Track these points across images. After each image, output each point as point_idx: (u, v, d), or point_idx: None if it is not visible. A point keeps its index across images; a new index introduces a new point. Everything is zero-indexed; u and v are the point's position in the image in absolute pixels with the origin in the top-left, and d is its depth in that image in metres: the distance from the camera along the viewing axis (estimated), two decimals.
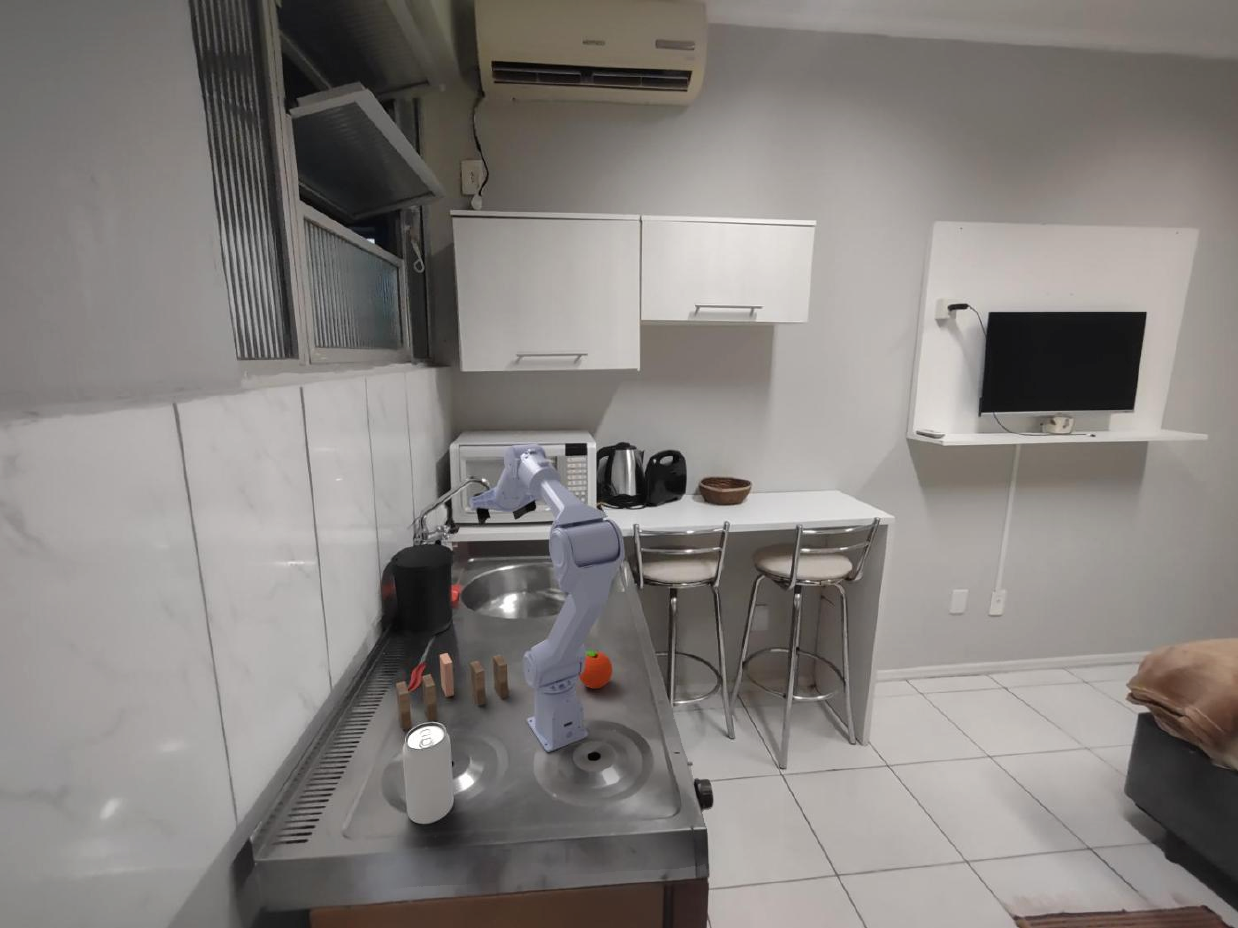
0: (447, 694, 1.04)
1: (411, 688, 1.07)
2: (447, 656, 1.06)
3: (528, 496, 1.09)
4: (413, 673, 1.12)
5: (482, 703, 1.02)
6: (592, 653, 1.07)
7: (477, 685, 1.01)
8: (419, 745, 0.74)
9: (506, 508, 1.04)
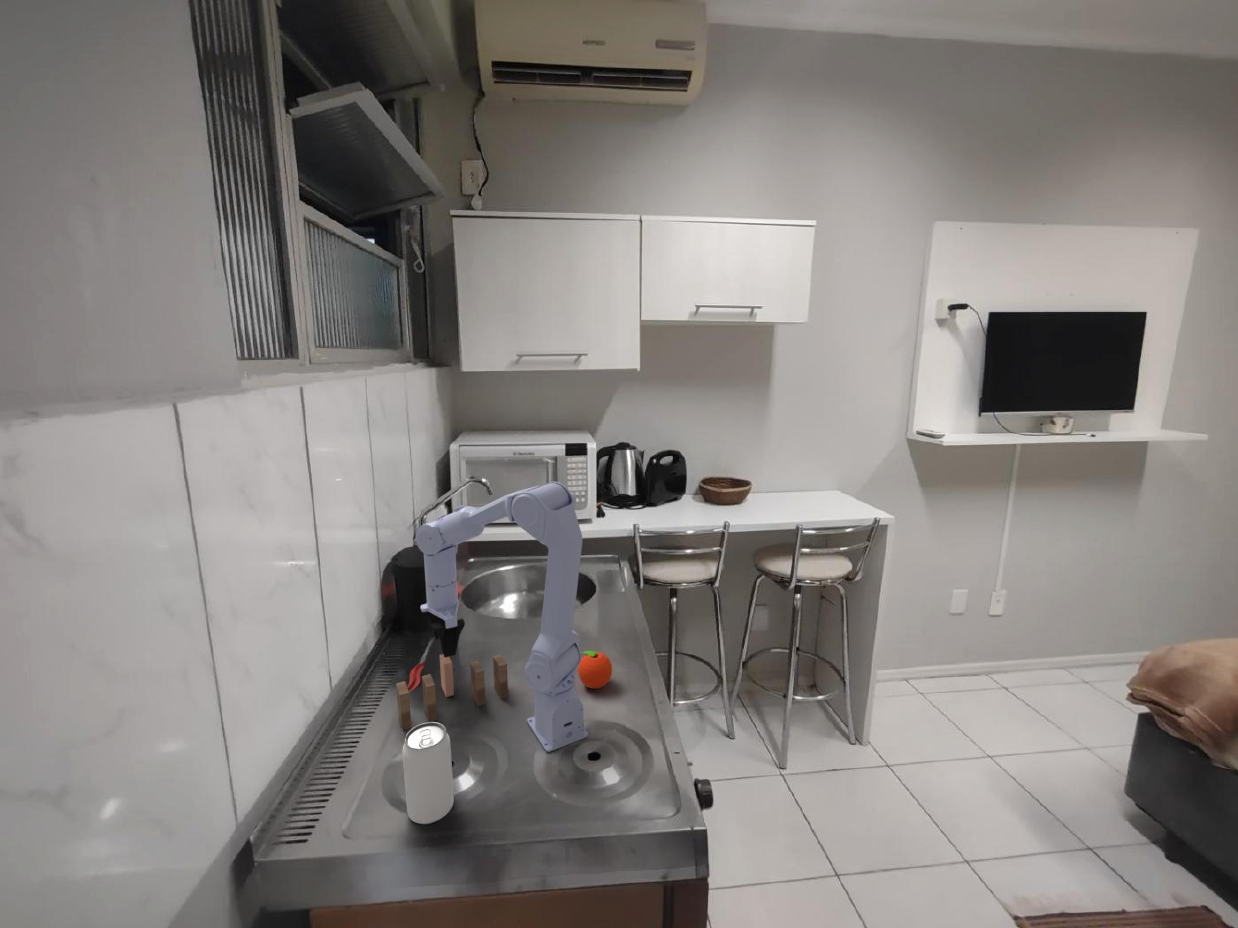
0: (447, 694, 1.04)
1: (410, 688, 1.07)
2: None
3: None
4: (411, 673, 1.12)
5: (482, 703, 1.02)
6: (592, 653, 1.07)
7: (477, 685, 1.01)
8: (419, 745, 0.74)
9: (457, 600, 1.03)
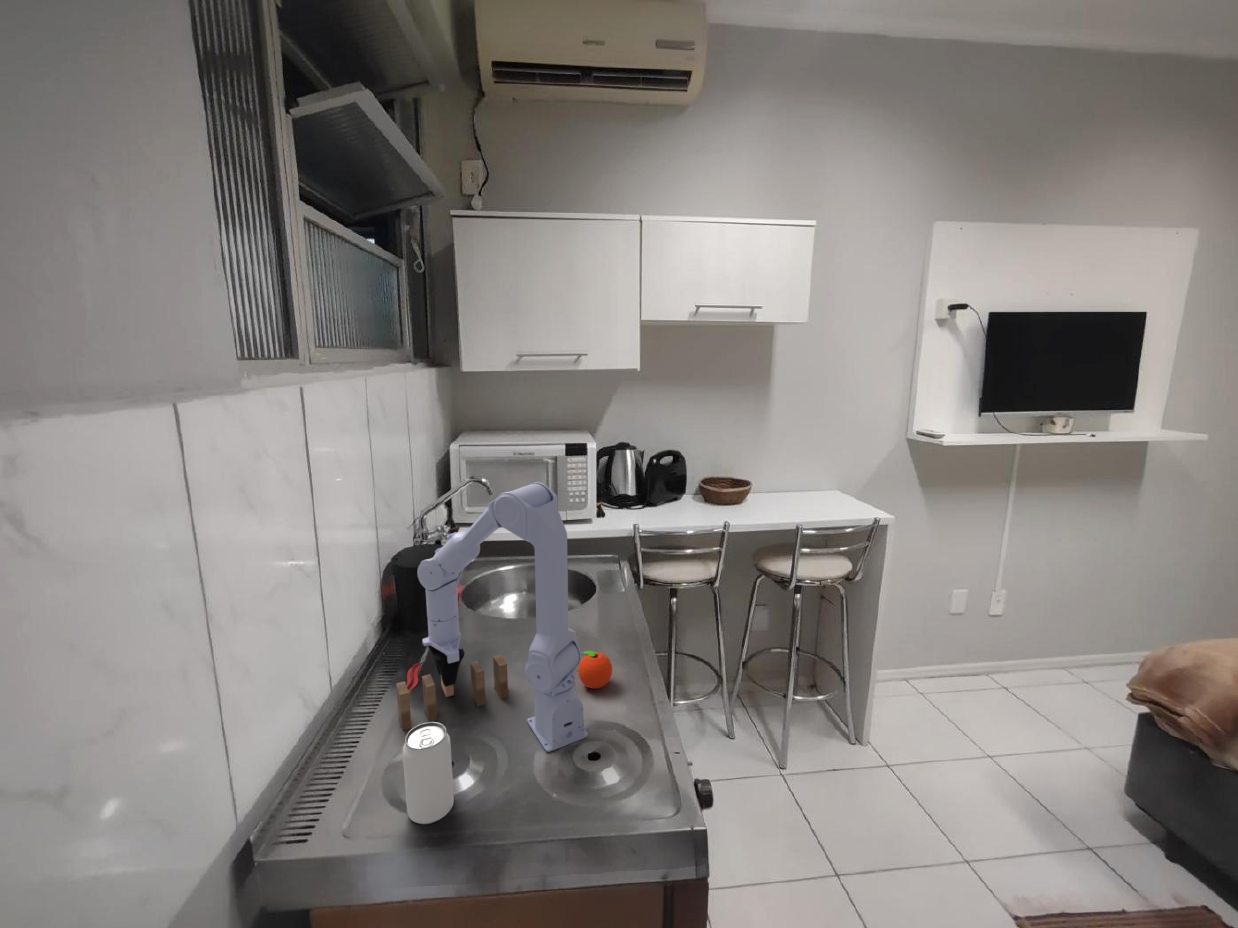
0: (447, 694, 1.04)
1: (409, 688, 1.07)
2: None
3: None
4: (409, 673, 1.12)
5: (482, 703, 1.02)
6: (592, 653, 1.07)
7: (477, 685, 1.01)
8: (419, 745, 0.74)
9: (459, 633, 1.05)
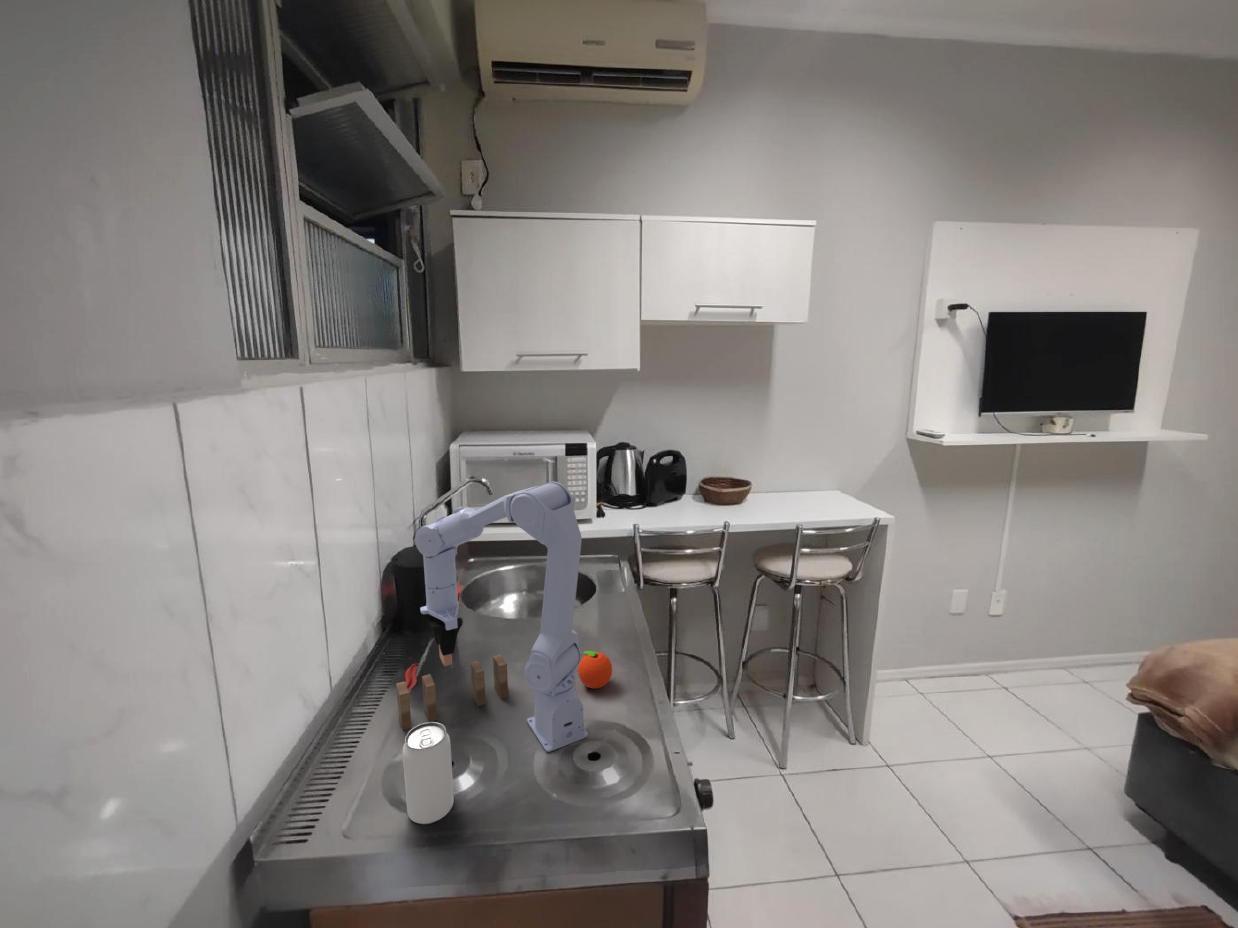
0: (445, 663, 1.03)
1: (407, 688, 1.07)
2: None
3: None
4: (406, 674, 1.12)
5: (482, 703, 1.02)
6: (592, 653, 1.07)
7: (477, 685, 1.01)
8: (419, 745, 0.74)
9: (457, 602, 1.03)
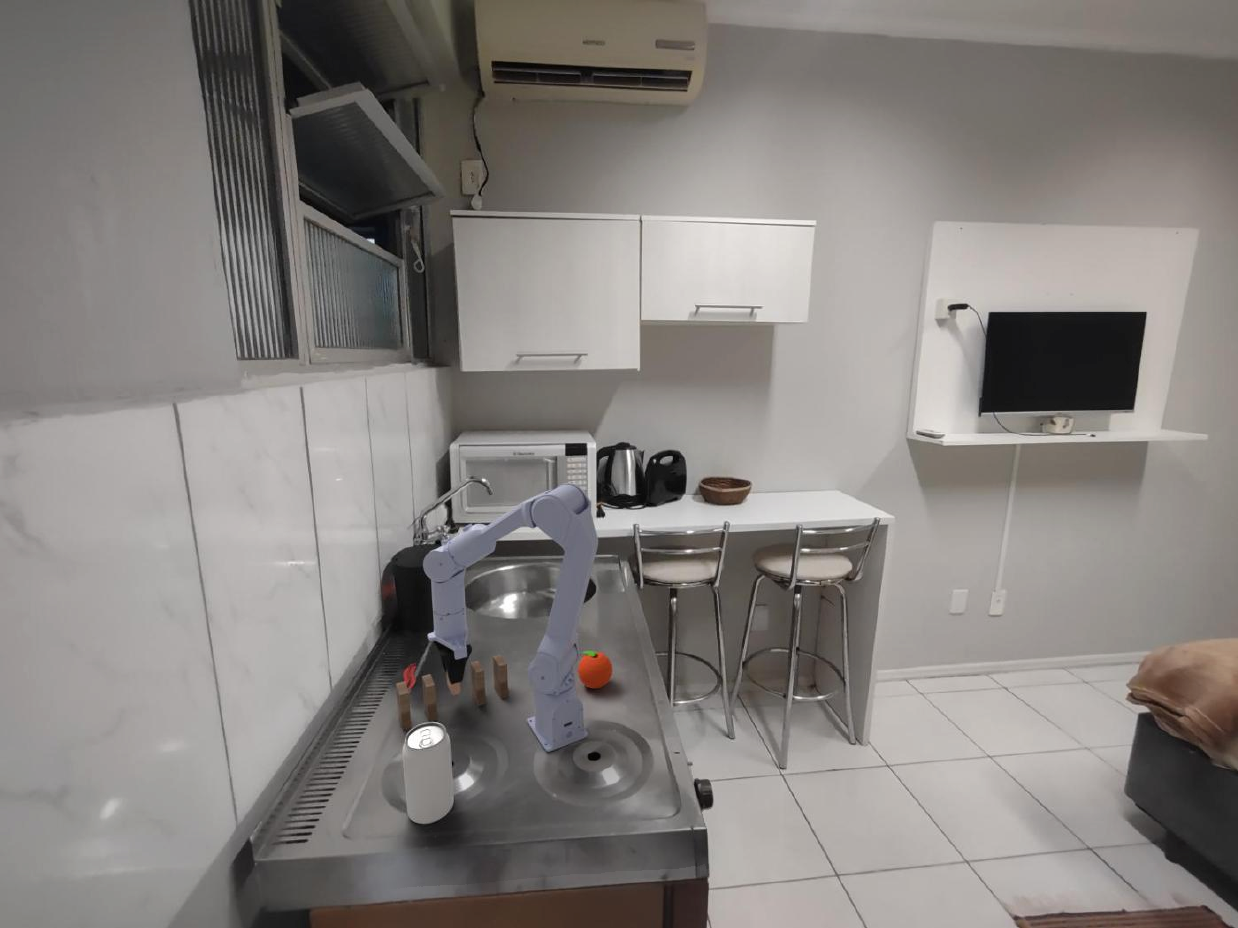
0: (453, 692, 0.99)
1: (407, 688, 1.07)
2: None
3: None
4: (405, 674, 1.11)
5: (482, 703, 1.02)
6: (592, 653, 1.07)
7: (477, 685, 1.01)
8: (419, 745, 0.74)
9: (466, 628, 0.99)
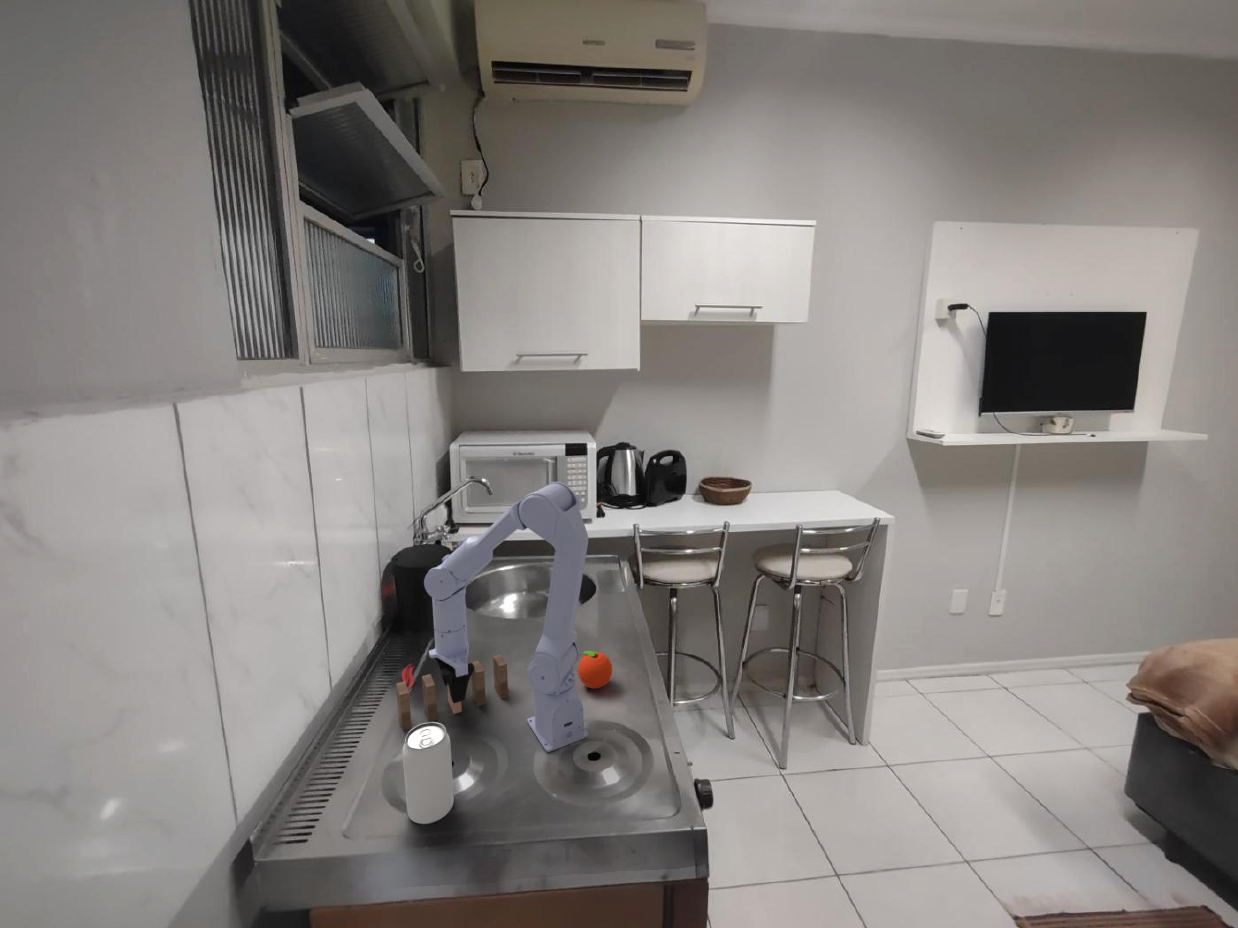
0: (455, 711, 0.99)
1: None
2: None
3: None
4: (403, 674, 1.11)
5: (482, 703, 1.02)
6: (592, 653, 1.07)
7: (477, 685, 1.01)
8: (419, 745, 0.74)
9: (467, 644, 0.99)
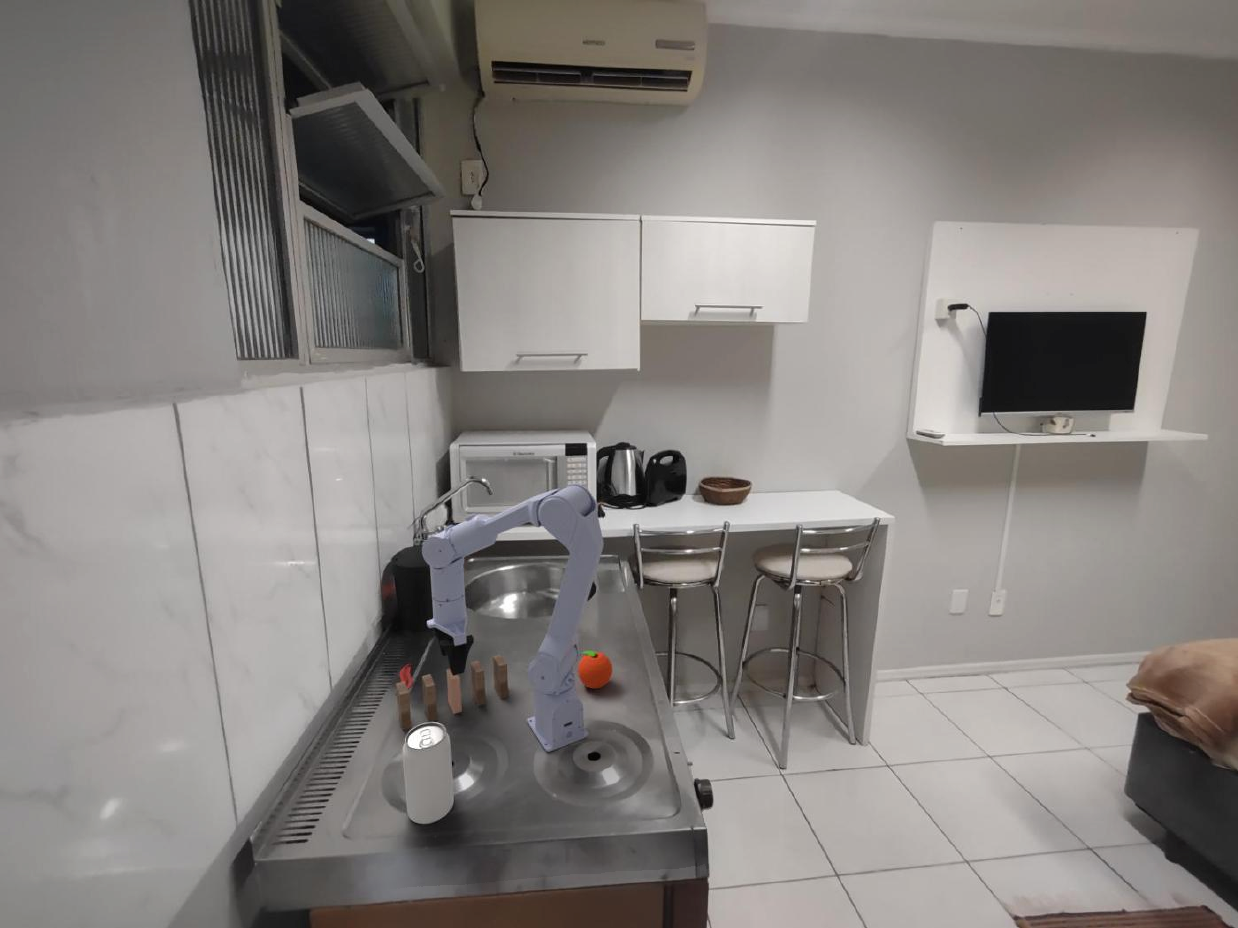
0: (455, 711, 0.99)
1: None
2: None
3: None
4: (401, 674, 1.11)
5: (482, 703, 1.02)
6: (592, 653, 1.07)
7: (477, 685, 1.01)
8: (419, 745, 0.74)
9: (465, 615, 0.98)
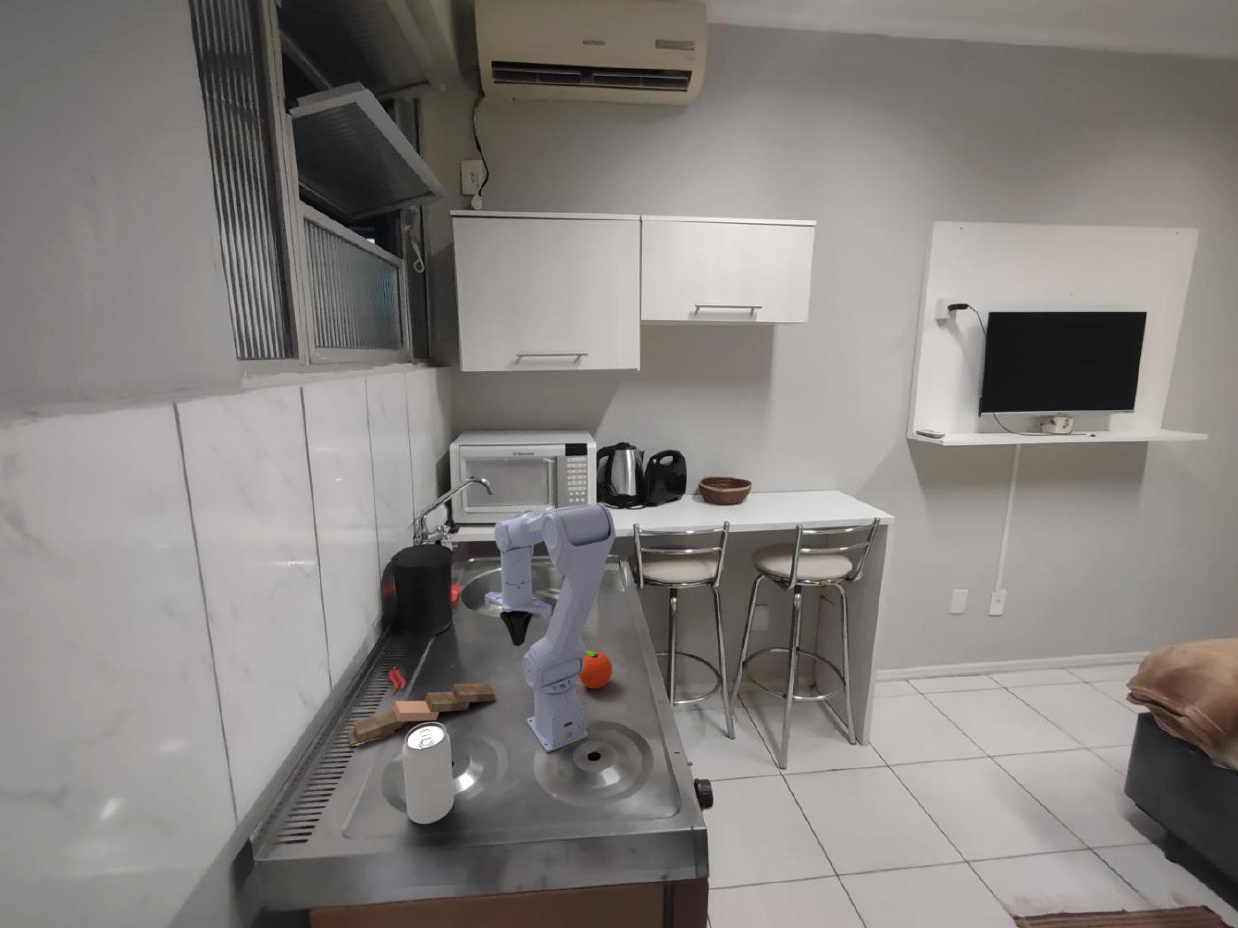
0: (434, 718, 0.97)
1: None
2: (396, 706, 0.95)
3: None
4: (391, 676, 1.11)
5: (467, 705, 1.00)
6: (592, 653, 1.07)
7: (445, 710, 0.98)
8: (419, 745, 0.74)
9: None
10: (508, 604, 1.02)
